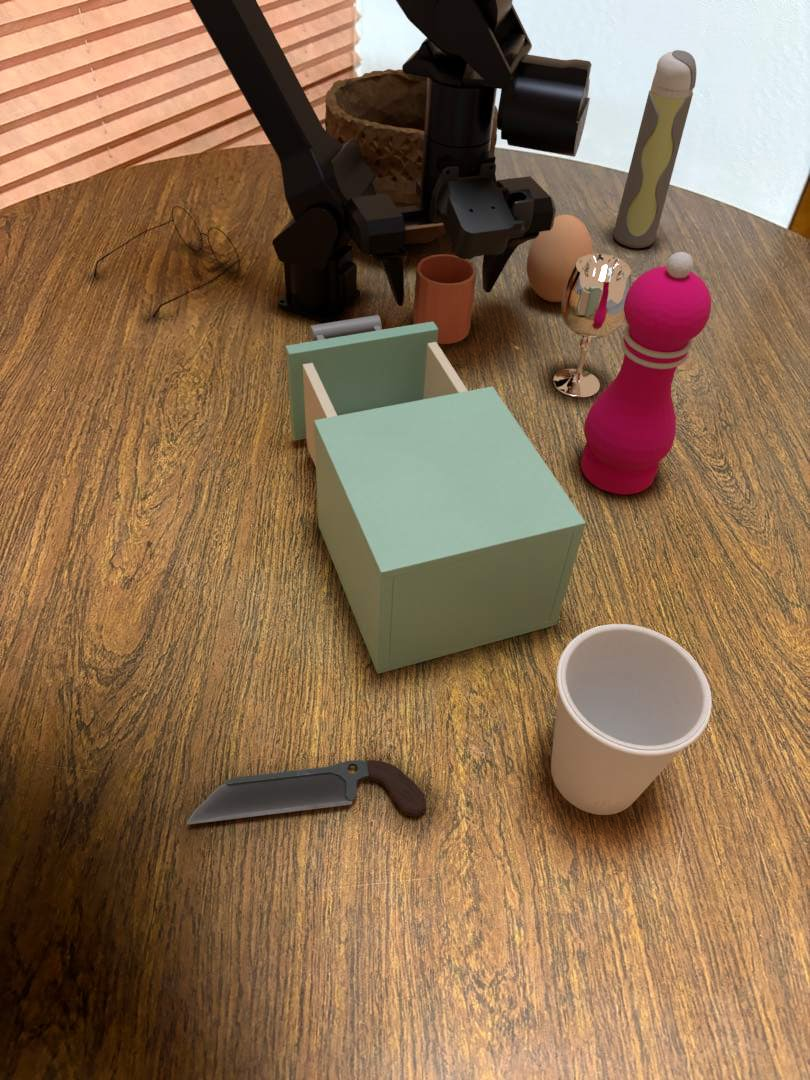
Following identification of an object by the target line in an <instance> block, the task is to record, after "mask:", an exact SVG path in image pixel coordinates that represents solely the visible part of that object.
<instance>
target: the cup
mask: <svg viewBox="0 0 810 1080" xmlns="http://www.w3.org/2000/svg"><path fill="white" fill-rule="evenodd" d="M476 280H477V267H476V266H475V265H474V264H473V263H472V261H470V260H469V259H461V258H459V257H457V256H456V255H455V254H445V253H439V254H431V255H428V256H425V257H423V258H422V259H420V261H418V262H417V264H416V271H415V286H414V287H415V288H414V306H413V318H412V319H413V321H412V325H414V324H420V323H426V322H432V321H433V322H434V323H435V325H436V326H437V328H438V339H437V344H438V345H450V344H455V343H459V342H461V341H463V340H464V339H465V338H467V337H468V335H469V334H470V329H471V324H472V323H471V322H472V316H473V315H472V314H473V305H474V299H475V289H476Z"/></svg>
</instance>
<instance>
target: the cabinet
mask: <svg viewBox="0 0 810 1080" xmlns="http://www.w3.org/2000/svg"><path fill="white" fill-rule="evenodd" d="M314 436H315V459H316V467H315V477H316V478H315V479H316V481H315V482H316V502H317V504H316V506H317V524H318V529H319V531H320V533H321V536H322V539H323V541H324V543H325V546H326V548H327V551H328V553H329V556H330V558H331V561H332V563H333V566H334V569H335V571H336V574H337V577H338V579H339V581H340V584H341V586H342V588H343V591H344V594H345V596H346V599H347V601H348V603H349V607H350V609H351V611H352V614H353V616H354V619H355V622H356V624H357V627H358V628H359V629H358V630H359V631H360V634H361V636H362V639H363V641H364V644H365V647H366V649H367V651H368V654H369V656H370V659H371V662H372V664H373V667H374V669H375V672H376V674H378V675H380V674H384V673H386V672H390V671H394V670H397V669H401V668H405V667H408V666H412V665H416V664H420V663H422V662H427V661H430V660H435V659H438V658H442V657H445V656H449V655H452V654H455V653H459V652H464V651H467V650H470V649H474V648H477V647H482V646H486V645H489V644H492V643H495V642H500V641H503V640H507V639H510V638H511V639H512V638H515V637H519V636H521V635H525V634H529V633H532V632H536V631H539V630H543V629H547V628H551V627H555V626H557V625H558V623H559V620H560V619H559V618H560V615H561V612H562V608H563V604H564V601H565V598H566V594H567V590H568V587H569V584H570V580H571V577H572V573H573V570H574V567H575V563H576V560H577V556H578V552H579V548H580V545H581V542H582V538H583V535H584V531H585V527H586V525H587V522H586V520H585V519H584V517H583V516H582V514H581V513H580V512H579V511H578V508H577V507H576V505H575V504H574V503H573V502H572V500H571V499H570V497H569V496H568V494H567V492H566V491H565V490H564V488H563V487H562V485H561V484H560V482H559V481H558V480H557V478H556V476H555V475H554V474H553V472H552V471H551V469H550V468H549V466H548V465H547V463H546V462H545V461H544V459H543V458H542V455H540V453H539V452H538V450H537V449H536V447H535V446H534V443H532V442H531V440H530V438H529V437H528V435H527V434H526V432H525V431H524V429H522V426H521V425H520V424H519V422H518V421H517V419H516V418H515V417H514V414H513V413H512V412H511V411H510V409H509V408H508V406H507V405H506V403H505V402H504V401H503V399H502V397H501V396H500V395H499V393H498V392H497V390H496V389H495V387H494V386H486V387H482V388H477V389H472V390H468V391H465V392H460V393H455V394H450V395H444V396H439V397H434V398H428V399H423V400H418V401H413V402H407V403H402V404H397V405H392V406H386V407H381V408H376V409H370V410H365V411H360V412H355V413H349V414H344V415H339V416H333V417H328V418H323V419H318V420H314Z"/></svg>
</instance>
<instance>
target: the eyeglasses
mask: <svg viewBox="0 0 810 1080" xmlns="http://www.w3.org/2000/svg"><path fill="white" fill-rule="evenodd" d="M176 208H180V209H182V210H183V211H184V212H185V213H186V214H187V215H188V216H189V217H190V219H191V220H192V221H193V223H194V224H195V227H196V228H197V231H198V233H199V236H200V239H199V242H201V246H200V248H199V249H194V248H192V247H191V246H190V245H189V244H188V243H187V242H186V241H185V239H184V238H183V237H182V235H181V234H180V231H178V228H177V225H176V223H175V220H174V216H173V215H174V214H173V212H174V209H176ZM171 222H172V223H173V225H174V228H175V230H176V232H177V234H178V236H179V237H180V239H181V240H182V241H183V242H184V244H185V245H186V246H187V247H188V248H189V249H190V250H193V251H194V252H200V251H201V250H202V249H203V246H204V245H207V241H208V245H209V248H210V250H211V253H212V255H213V257H214V258H215V259H216V261H217V262H218V264H219V265H220V266H221V267H222V268H223V269H224V271H223V272H222V273H220V274H219V275H217V276H216V277H214V278H212V279H211V280H209V281H207V282H206V283H203V284H201V285H199V286H197V287H195V288H193V289H191V290H189V291H187V292H184V293H182V294H180V295H179V296H176V297H173V298H171V299H169V300H168V301H165V302H164V303H161V304H160V305H159V306H158V308H157V309H156V311H155V312H154V314H153V315H152V318H154V319H155V318H156V317H157V314H158V313H159V311H160V309H161V308H162V306H164V305H167V304H169V303H172V302H174V301H175V300H177V299H179V298H182V297H183V296H185V295H188V294H189V293H191V292H194V291H196V290H198V289H200V288H201V287H204V286H206V285H207V284H210V283H212V282H214V281H215V280H217V279H218V278H219V277H222V275H224V274H225V273H226V272H229V273H231V274H237V273H238V272H239V271H240V267H241V264H240V262H241V259H240V258H239V254H238V252H237V249H236V248H235V246H234V243H233V241H231V239H230V238H229V236H227V234H226V233H224V231H223V230H221V229H219V228H218V227H215V226H214V227H213V226H212V227H209V229H208V230H207V233H204V232H201V230H200V229H199V227H198V225H197V222H196V221H195V219H194V218H193V217H192V215H191V214H190V213H189V212H188V211H187V210H186V209H185V208H184V207H182V206H180V205H174V206H173V208H172V209H171V219H170V220H169V221H166V222H164V223H162V224H160V225H157V226H154V227H151V228H149V229H146V230H144V231H142V232H141V233H139V234H137V235H136V236H134V237H132V238H131V239H129V240H128V241H126V242H124V243H123V244H121V245H120V246H118V247H117V248H115V249H113V250H112V251H110V252H108V253H107V254H106V255H104V256H101V258H99V259H98V260H97V261H96V264H95V267H94V271H93V277H94V278H96V277H97V270H98V265H99V263H100V262H101V261H102V260H104V259H106V258H107V257H109V256H110V255H111V254H112V253H115V251H117V250H120V248H123V247H124V246H125V245H127V244H128V243H130V242H131V241H133V240H135V239H136V238H137V237H139V236H141V235H143V234H145V233H147V232H150V231H152V230H154V229H156V228H159V227H162V226H164V225H167V224H170V223H171ZM212 229H215V230H218V231H220V233H222V234H223V235H224V236H225V238H226V239H228V241H229V242H230V244H231V245H232V248H233V250H234V251H235V254H236V257H237V261H236V262H233V263H232V264H231V265H230V266H229V267H228V268H226V267H225V266H224V265H223V264H222V263H221V262H220V261H219V259H218V258H217V256H216V255H215V253H214V251H213V248H212V246H211V243H210V239H209V238H210V236H209V234H210V231H211V230H212ZM202 235H204V236H206V238H207V241H206V239H205V240H203V236H202ZM203 241H204V242H203ZM237 263H238V269H237V270H236V271H230V269H231V268H232V267H233V266H235V265H236V264H237Z"/></svg>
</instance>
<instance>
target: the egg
mask: <svg viewBox="0 0 810 1080" xmlns="http://www.w3.org/2000/svg"><path fill="white" fill-rule="evenodd" d="M589 254H594V248H593V243H592V239H591V236H590V233H589V230H588V228H587V226H586V225H585V223H584V222H583V221H582V220H581V219H580V218H578V217H576V216H574V215H573V214H572V215H571V214H559V215H557V216H555V218H554V223H553V227H552V229H551V230H549V231H542V232H539V236H538V237H537V238H535V239H532V241H531V244H530V246H529V249H528V254H527V259H526V274H527V279H528V281H529V285H530V286H531V288H532V289H533V291H534V292H535V293H536V295H537V296H538V297H540V298H542V299H543V300H544V301H546V302H550V303H562V297H563V292H564V289H565V286H566V283H567V281H568V278H569V276H570V274H571V272H572V270H573V268H574V266H575V264H576V262H577V260H578V259H579V258H581V257H583V256H585V255H589Z"/></svg>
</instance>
